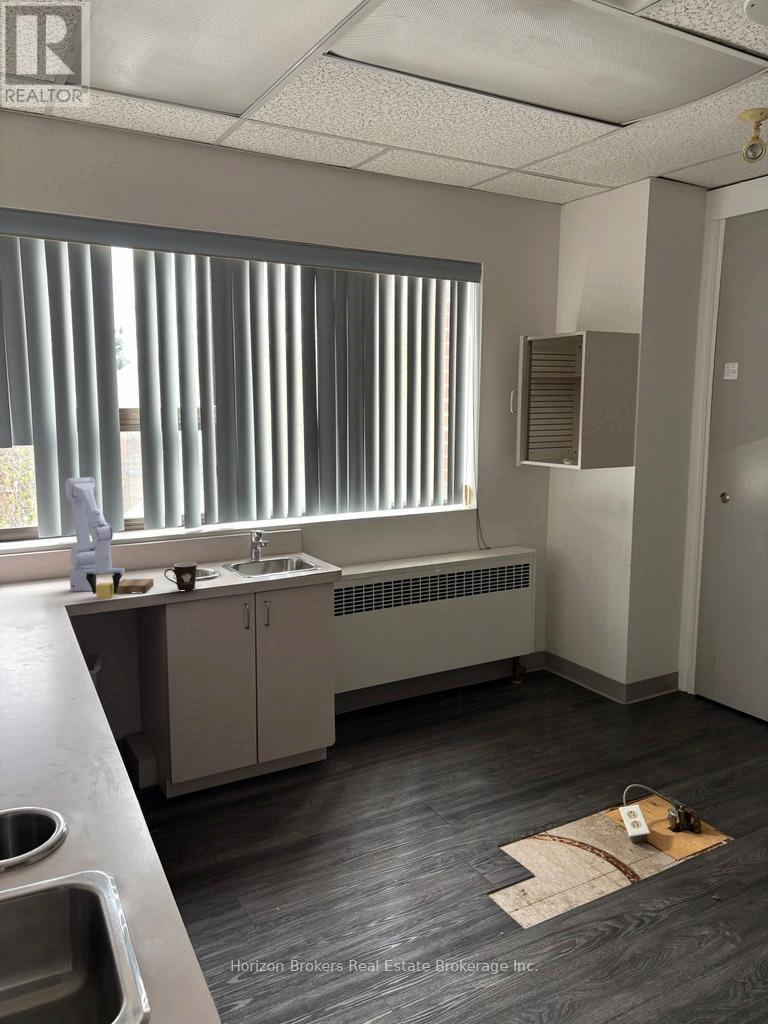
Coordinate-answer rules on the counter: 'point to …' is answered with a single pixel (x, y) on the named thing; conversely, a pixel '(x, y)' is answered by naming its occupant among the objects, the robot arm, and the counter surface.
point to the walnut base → (134, 585)
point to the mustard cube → (104, 590)
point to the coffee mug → (184, 575)
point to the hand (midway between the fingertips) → (105, 593)
